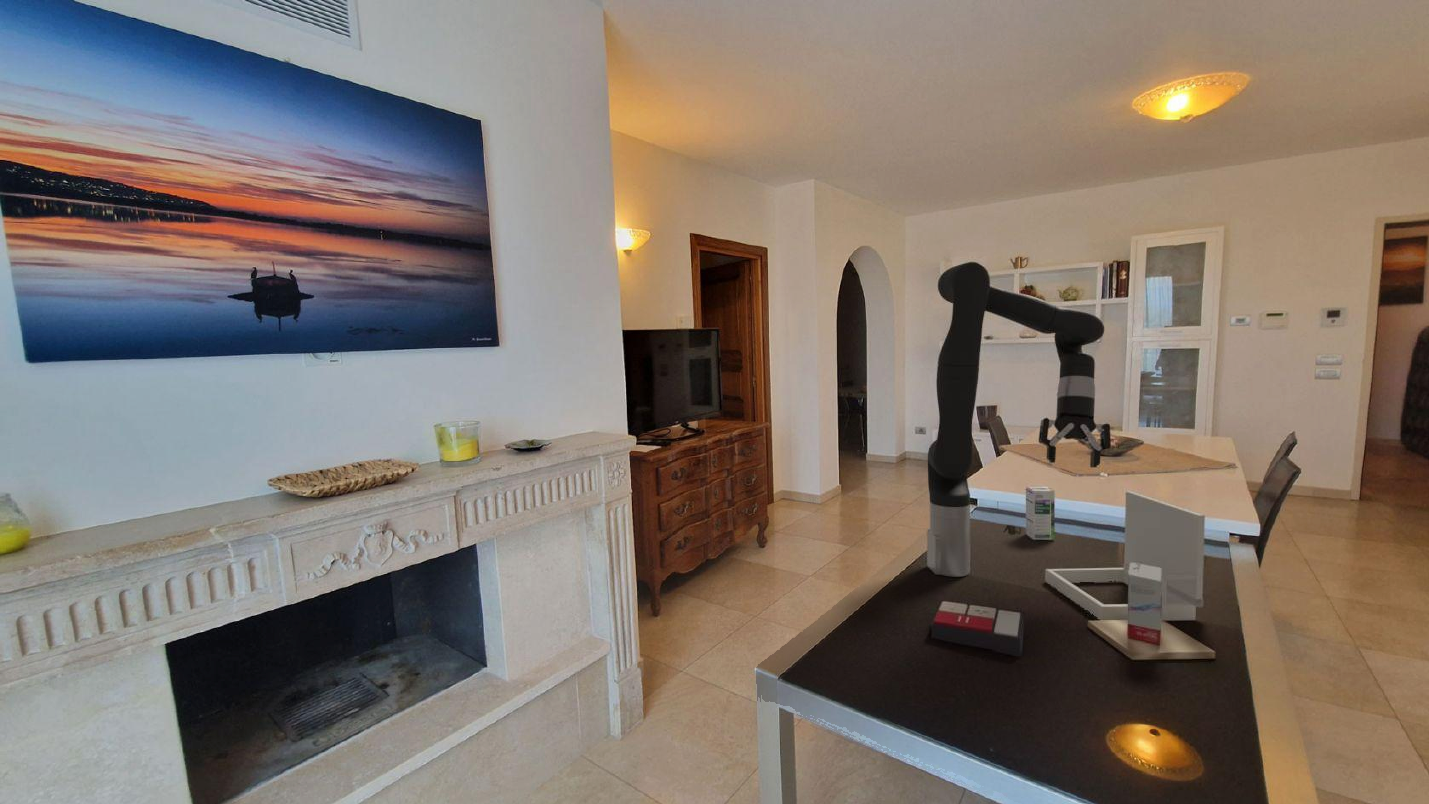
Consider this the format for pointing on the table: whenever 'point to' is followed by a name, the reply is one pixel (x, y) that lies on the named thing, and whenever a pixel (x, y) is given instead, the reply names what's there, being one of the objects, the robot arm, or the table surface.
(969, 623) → the grey red white block
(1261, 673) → the table surface
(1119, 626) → the oak board
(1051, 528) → the syrup box
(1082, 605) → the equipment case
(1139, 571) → the ink box
